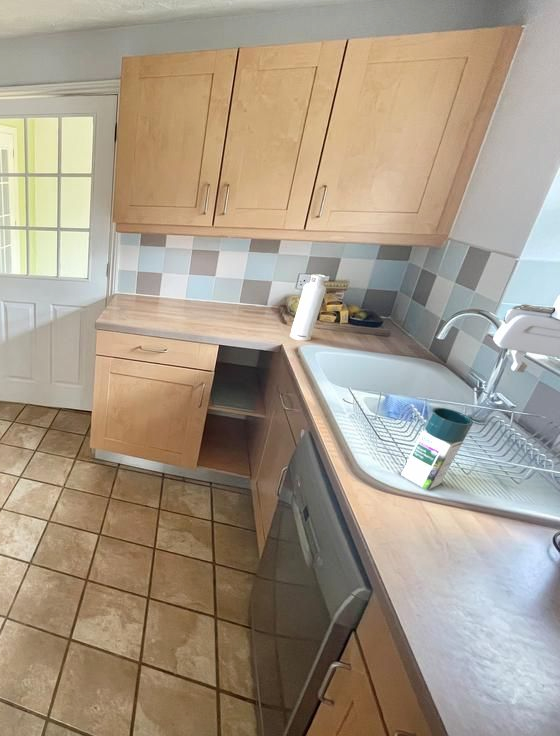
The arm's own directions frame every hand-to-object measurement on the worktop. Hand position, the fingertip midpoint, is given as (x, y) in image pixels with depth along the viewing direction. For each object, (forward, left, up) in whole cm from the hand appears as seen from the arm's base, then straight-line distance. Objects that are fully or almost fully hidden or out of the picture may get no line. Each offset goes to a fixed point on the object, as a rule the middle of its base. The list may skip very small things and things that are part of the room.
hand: (548, 376), depth 84 cm
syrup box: (+12, +4, -31) cm, 34 cm away
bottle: (+39, -88, -31) cm, 101 cm away
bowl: (+12, +4, -17) cm, 21 cm away
